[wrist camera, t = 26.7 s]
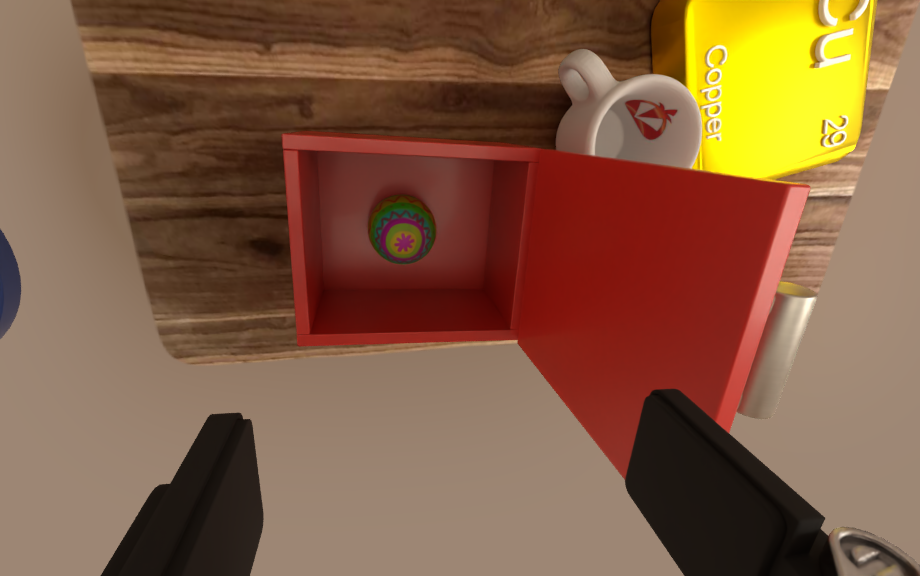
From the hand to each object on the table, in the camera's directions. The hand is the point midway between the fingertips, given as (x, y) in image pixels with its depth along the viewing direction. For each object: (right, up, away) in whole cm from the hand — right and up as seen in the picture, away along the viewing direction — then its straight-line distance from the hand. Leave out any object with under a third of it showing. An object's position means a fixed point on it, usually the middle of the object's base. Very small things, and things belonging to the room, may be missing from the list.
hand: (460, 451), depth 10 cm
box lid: (+6, +3, +10) cm, 12 cm away
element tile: (+23, +21, +25) cm, 40 cm away
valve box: (-4, +9, +24) cm, 26 cm away
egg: (-5, +9, +24) cm, 26 cm away
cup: (+10, +17, +24) cm, 31 cm away
